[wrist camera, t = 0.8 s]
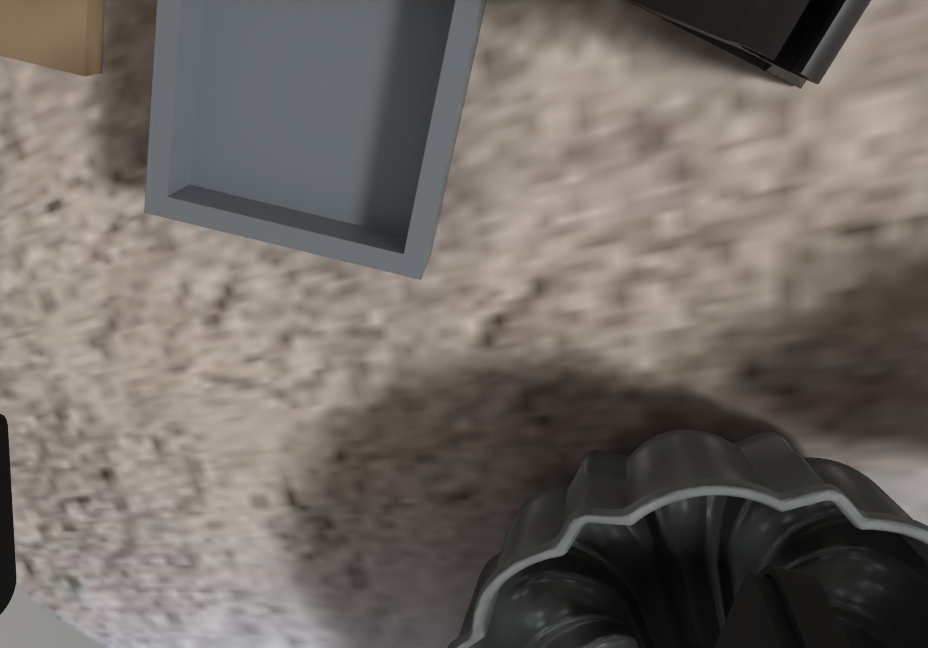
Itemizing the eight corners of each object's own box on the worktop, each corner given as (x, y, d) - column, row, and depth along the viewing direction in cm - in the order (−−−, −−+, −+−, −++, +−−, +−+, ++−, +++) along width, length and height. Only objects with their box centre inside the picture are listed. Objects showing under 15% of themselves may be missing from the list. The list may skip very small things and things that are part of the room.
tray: (198, -94, 34) (163, -102, 31) (491, -22, 34) (486, -23, 31) (176, 194, 39) (144, 212, 36) (430, 256, 40) (420, 279, 36)
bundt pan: (707, 800, 53) (742, 971, 44) (377, 603, 49) (339, 745, 40) (1037, 549, 43) (1171, 700, 34) (659, 277, 39) (696, 366, 30)
